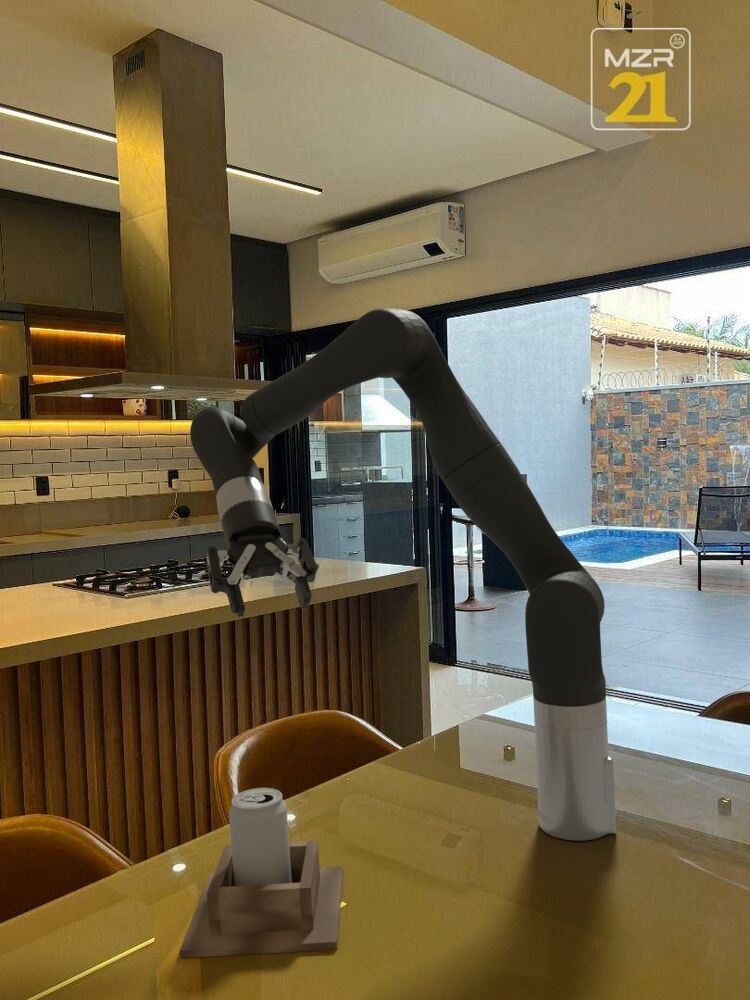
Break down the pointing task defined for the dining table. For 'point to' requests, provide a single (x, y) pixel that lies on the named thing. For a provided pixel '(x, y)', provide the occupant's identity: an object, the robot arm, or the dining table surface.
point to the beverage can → (259, 838)
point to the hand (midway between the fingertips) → (274, 609)
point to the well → (268, 910)
